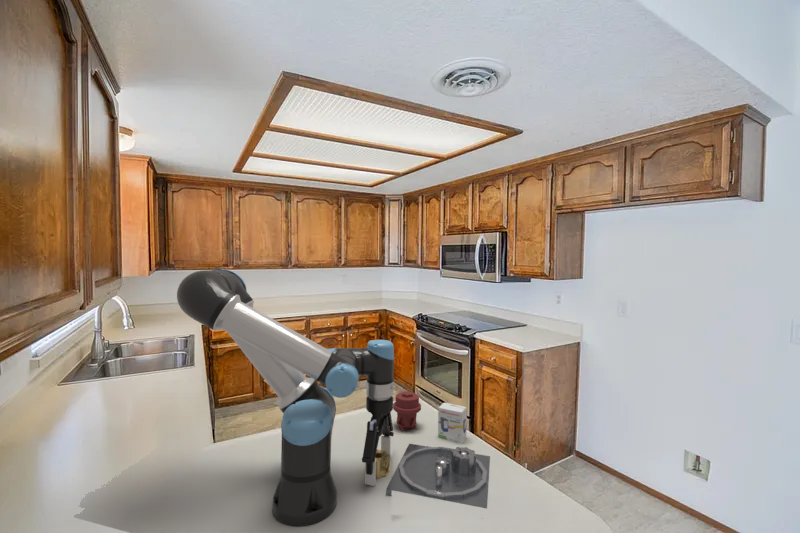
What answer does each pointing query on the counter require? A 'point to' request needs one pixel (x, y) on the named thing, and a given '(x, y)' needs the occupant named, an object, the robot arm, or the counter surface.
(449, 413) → the ink box
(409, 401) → the mechanical component
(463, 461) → the seated gear
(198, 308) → the robot arm
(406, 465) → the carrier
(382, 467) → the planet gear
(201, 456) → the counter surface
